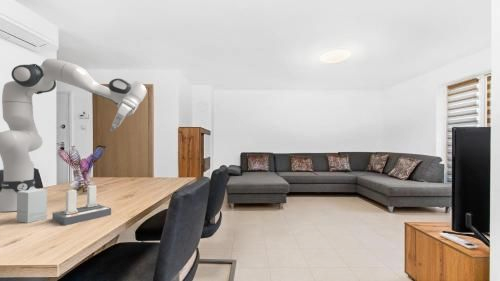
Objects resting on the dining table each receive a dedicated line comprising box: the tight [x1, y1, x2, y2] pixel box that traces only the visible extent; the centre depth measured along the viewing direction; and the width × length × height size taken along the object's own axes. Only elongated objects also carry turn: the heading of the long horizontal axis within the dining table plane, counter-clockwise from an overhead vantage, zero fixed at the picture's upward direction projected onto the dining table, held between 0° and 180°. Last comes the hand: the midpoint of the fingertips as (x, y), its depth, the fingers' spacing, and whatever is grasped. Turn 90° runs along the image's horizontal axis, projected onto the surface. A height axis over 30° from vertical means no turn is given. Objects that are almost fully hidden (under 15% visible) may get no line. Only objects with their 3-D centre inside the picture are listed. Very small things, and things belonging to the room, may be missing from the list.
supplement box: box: [16, 188, 48, 224], centre depth 103 cm, size 7×7×13 cm
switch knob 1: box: [63, 189, 78, 214], centre depth 102 cm, size 2×4×10 cm, turn 146°
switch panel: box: [51, 203, 112, 226], centre depth 107 cm, size 13×18×3 cm
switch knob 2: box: [85, 184, 98, 207], centre depth 113 cm, size 2×4×10 cm, turn 146°
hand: (112, 128), depth 124 cm, fingers open, 8 cm apart
